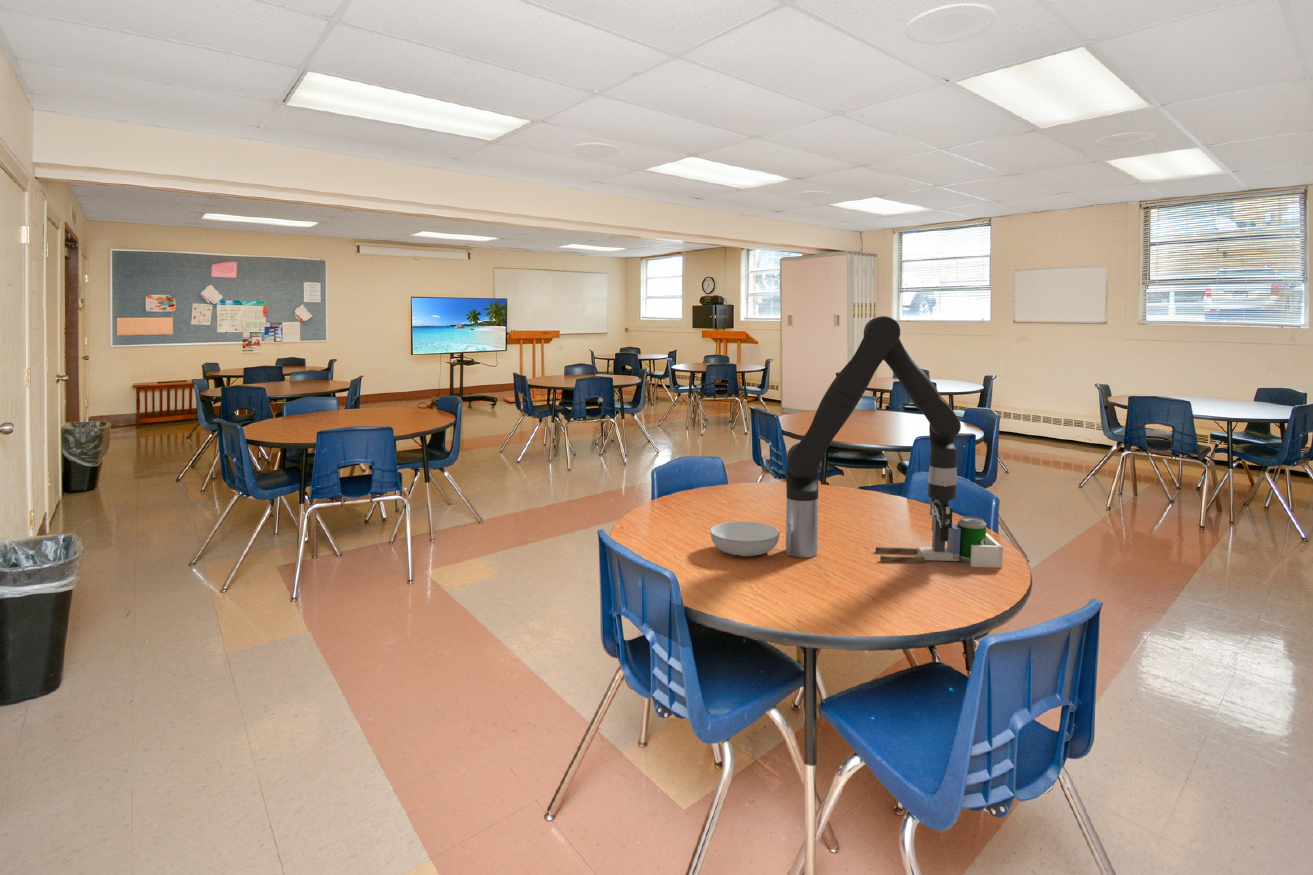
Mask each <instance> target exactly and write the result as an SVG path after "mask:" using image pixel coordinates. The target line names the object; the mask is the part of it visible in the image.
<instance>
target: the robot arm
mask: <svg viewBox="0 0 1313 875" xmlns="http://www.w3.org/2000/svg"><path fill="white" fill-rule="evenodd" d="M900 327H901V326H900V323H899V322H898V321H897V320H896V319H895V318H893V317H890V316H887V315H882V316H876V317H874V318H872V319H870V320H869V321H867V323H866V325H865V326H864V328H863V334H862V335H863V337H862V340H861V342H860V343H859V346H858V347H857V350H856V351H855V353H854V355H852V357H851V359H849V361H848V363H847V364H846V365H844V367H843V368H842V370H841V371H839V373H838V374H837V375H836V376H835V378H834V380H832V382H831V384H830V385H829V386H828V388H827V390H826V392H825V393H824V395H823V397H822V398H821V400H820V402H819V405H818V406H817V409H816V412H815V414H814V416H813V419H812V422H811V424H810V427H808V429H807V431H806V433H805V434H804V436H803V437H802V438H801V439H800V441H799V442H798V443H795V444H794V445H792V446H791V447H790V448H789V449H788V451H787V455H786V484H785V485H786V486H785V487H786V510H785V511H786V515H785V516H786V517H785V518H786V519H785V553H786V556H787V557H788V556H790V557H795V558H802V559H803V558H805V559H806V558H812V557H813V558H814V557H816V556H817V555H818V538H819V536H818V533H819V531H818V530H819V467H820V465H821V463H822V460H823V458H824V456H825V454H826V453H827V450H828V448H829V447H830V445H831V442H832V441H833V440H834V438H835V437H836V435H837V434H838V433H839V432H840V430H841V429H842V428H843V426H844V425H845V423H846V422H847V420H848V419H849V418H850V416H851V415H852V413H853V412H854V410H855V408H856V407H857V406H858V404H859V402H860V400H861V398H863V395H864V394H865V392H866V390H867V388H868V386H869V384H870V382H871V381H872V379H873V377H874V375H875V373H876V371H877V369H879V366H880V365H881V363H883V362H885V363H886V364H887V366H888V367H889V368H890V370H891V371H892V372H893V374H894V376H895V377H896V378H897V380H898V381H899V382H900V385H901V386H902V387H903V389H904V391H905V393H907V396H908V397H909V398H910V399H911V401H912V402H913V403H914V405H915V406H916V408H917V409H918V410H919V411H920V412H921V413H922V414H923V415H924V417H925V418H926V420H927V422H928V423H929V426H928V427H929V428H928V429H929V430H928V431H929V441H930V442H929V443H930V455H929V467H928V474H927V475H928V479H927V480H928V482H927V498H930V508H929V509H930V510H929V514H930V516H931V517H930V518H931V520H932V523H931V531H932V532H933V516H937V520H938V521H939V523H940V538H939V539H940V541H945V542H947V541H948V535H949V529H950V528H952V523H953V511H954V510H953V507H952V506H951V505H950V504H949V502H950V501H953V500H955V499H956V498H957V484H958V483H957V482H958V471H957V464H958V450H957V448H956V445H955V437H956V436H958V434H960V432H961V428H962V425H961V421H960V419H959V417H958V416H957V415H956V413H955V412H954V411H953V409H952V408H951V407H950V405H948V404H947V402H946V401H945V399H944V398H943V397H942V395H941V394H940V392H939V391H938V389H937V388H936V386H935V385H934V383H933V382H932V380H931V379H930V377H928V375H927V374H926V373H925V371H923V369H922V368H921V367H920V366H919V365H918V364H917V363H916V362H915V360H914V359H913V358H912V356H910V353H909V352H908V351H907V349H906V348H905V346H904V344H903V343H902V341H901V339H900V338H901V337H900V336H901V328H900ZM945 521H946V524H945Z"/></svg>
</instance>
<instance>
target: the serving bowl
mask: <svg viewBox="0 0 1313 875" xmlns="http://www.w3.org/2000/svg"><path fill="white" fill-rule="evenodd" d="M709 533H710V534H709V535H710V538H711V541H712V543H713V545H714V546H715V547H716V548H717V549H719V550H720V551H721V552H723V553H727V554H729V555H733V556H737V555H739V556H738V557H754V556H759V555H763V554H766V553H769V552H770V551H772V550H773V549H774V548H775V547H776V545H777V544H778V541H779V538H780V534H781V532H780V530H779V529H778V528H777V527H775V526H773V525H770V524H767V523H761V522H757V521H756V522H755V521H744V520H743V521H727V522H721V523H718V524H716V525H714V526H711V528H710V529H709Z"/></svg>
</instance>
